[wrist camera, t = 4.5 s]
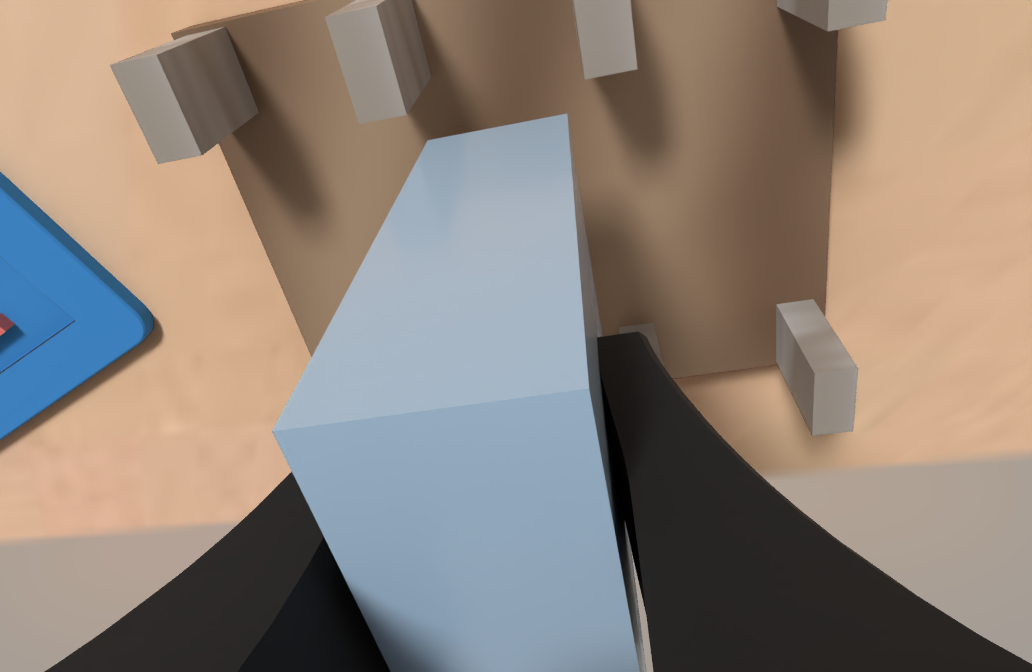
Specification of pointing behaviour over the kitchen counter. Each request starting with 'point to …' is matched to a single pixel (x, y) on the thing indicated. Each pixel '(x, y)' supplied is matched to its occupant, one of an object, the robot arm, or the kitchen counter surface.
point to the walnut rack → (595, 140)
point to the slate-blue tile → (473, 422)
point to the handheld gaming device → (54, 312)
